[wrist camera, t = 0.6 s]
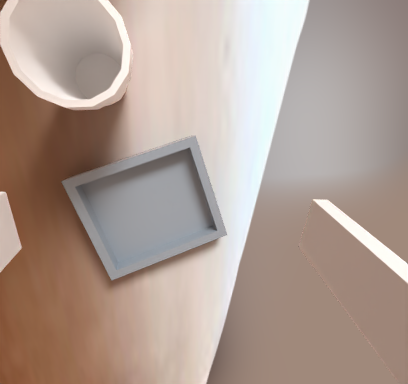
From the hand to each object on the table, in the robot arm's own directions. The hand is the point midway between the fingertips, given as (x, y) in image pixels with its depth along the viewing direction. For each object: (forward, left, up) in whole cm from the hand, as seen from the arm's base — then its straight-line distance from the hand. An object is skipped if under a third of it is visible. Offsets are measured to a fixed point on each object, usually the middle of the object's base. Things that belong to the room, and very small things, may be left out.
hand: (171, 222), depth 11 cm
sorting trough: (+6, -3, -25) cm, 26 cm away
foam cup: (-12, -3, -26) cm, 29 cm away
